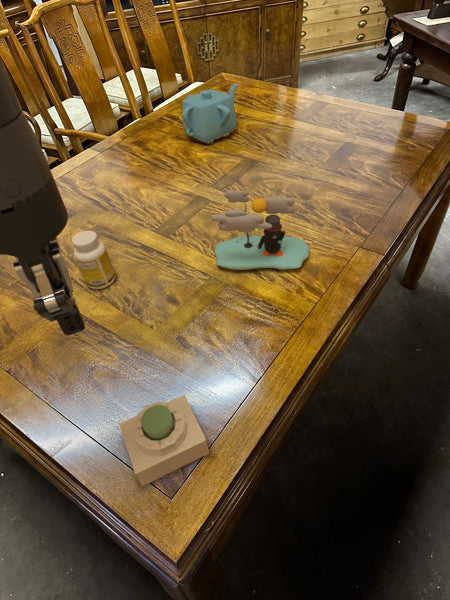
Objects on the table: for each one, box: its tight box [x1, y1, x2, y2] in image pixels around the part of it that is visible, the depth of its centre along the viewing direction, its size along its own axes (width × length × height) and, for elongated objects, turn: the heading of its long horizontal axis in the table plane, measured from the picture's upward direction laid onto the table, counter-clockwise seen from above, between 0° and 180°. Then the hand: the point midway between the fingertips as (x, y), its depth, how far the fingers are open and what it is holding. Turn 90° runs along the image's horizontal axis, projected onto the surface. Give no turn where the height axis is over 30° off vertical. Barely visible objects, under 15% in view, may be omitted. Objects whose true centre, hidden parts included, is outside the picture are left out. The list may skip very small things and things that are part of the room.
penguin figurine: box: [210, 190, 311, 271], centre depth 83 cm, size 20×11×15 cm, turn 81°
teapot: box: [181, 83, 240, 145], centre depth 129 cm, size 18×16×14 cm
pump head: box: [141, 405, 174, 440], centre depth 55 cm, size 4×4×2 cm
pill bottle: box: [71, 230, 116, 290], centre depth 84 cm, size 6×6×11 cm
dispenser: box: [118, 394, 210, 487], centre depth 58 cm, size 10×8×6 cm
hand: (74, 328), depth 44 cm, fingers closed
